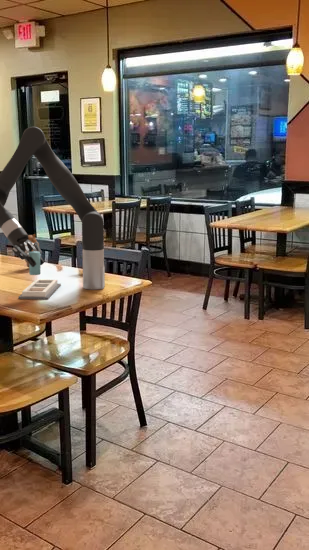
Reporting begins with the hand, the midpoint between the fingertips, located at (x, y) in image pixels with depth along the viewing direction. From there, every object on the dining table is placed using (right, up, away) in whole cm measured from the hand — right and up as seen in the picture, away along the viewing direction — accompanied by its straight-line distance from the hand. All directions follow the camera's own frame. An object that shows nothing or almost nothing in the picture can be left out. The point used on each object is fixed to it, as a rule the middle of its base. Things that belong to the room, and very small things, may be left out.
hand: (38, 264), depth 216 cm
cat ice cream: (-17, -1, +60) cm, 63 cm away
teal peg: (-2, -4, +2) cm, 5 cm away
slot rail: (-1, -11, +11) cm, 16 cm away
